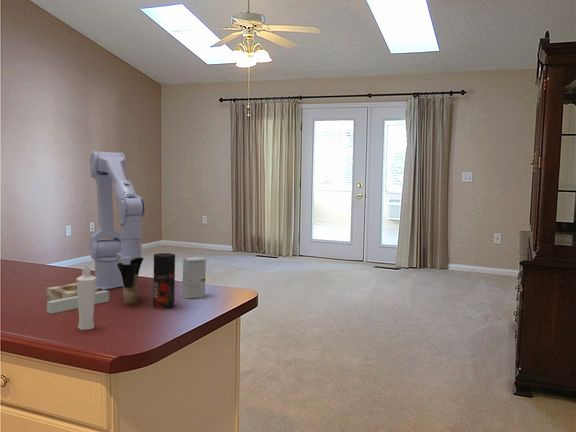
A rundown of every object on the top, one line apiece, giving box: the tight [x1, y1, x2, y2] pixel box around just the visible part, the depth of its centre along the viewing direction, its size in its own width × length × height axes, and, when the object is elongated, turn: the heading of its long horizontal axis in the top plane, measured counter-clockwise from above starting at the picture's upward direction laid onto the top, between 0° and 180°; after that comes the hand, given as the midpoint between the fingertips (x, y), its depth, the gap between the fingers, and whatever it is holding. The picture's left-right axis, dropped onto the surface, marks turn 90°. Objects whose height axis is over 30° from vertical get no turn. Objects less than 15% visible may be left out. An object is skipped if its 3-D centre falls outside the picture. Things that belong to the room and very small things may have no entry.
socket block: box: [46, 282, 99, 302], centre depth 151 cm, size 10×10×4 cm
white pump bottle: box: [75, 266, 96, 331], centre depth 127 cm, size 5×4×15 cm
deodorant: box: [152, 252, 176, 310], centre depth 149 cm, size 6×6×15 cm
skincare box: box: [181, 256, 207, 299], centre depth 162 cm, size 6×4×12 cm
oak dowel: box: [122, 274, 139, 304], centre depth 153 cm, size 4×4×8 cm
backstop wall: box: [46, 289, 110, 315], centre depth 146 cm, size 18×2×3 cm, turn 145°
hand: (130, 284), depth 153 cm, fingers open, 7 cm apart
